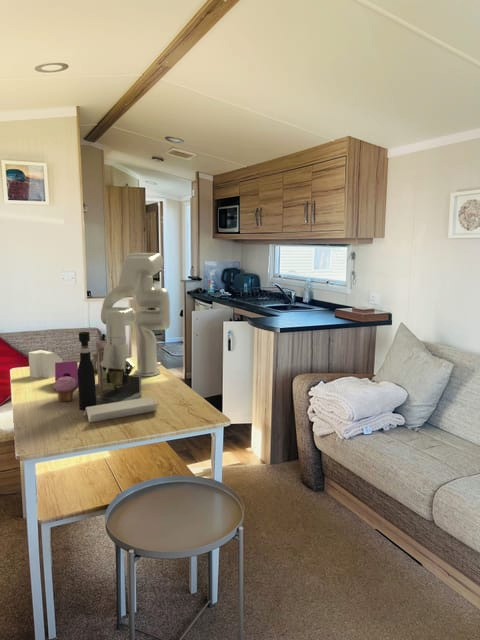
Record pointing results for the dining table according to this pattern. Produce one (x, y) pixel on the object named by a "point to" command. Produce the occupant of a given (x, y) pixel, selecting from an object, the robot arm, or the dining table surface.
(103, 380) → the box
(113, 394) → the tray
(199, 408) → the dining table surface
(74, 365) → the mounting bracket
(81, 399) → the wine bottle
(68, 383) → the cupcake
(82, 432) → the dining table surface
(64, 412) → the dining table surface
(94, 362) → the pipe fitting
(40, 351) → the corner bracket
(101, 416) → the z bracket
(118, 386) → the cup
